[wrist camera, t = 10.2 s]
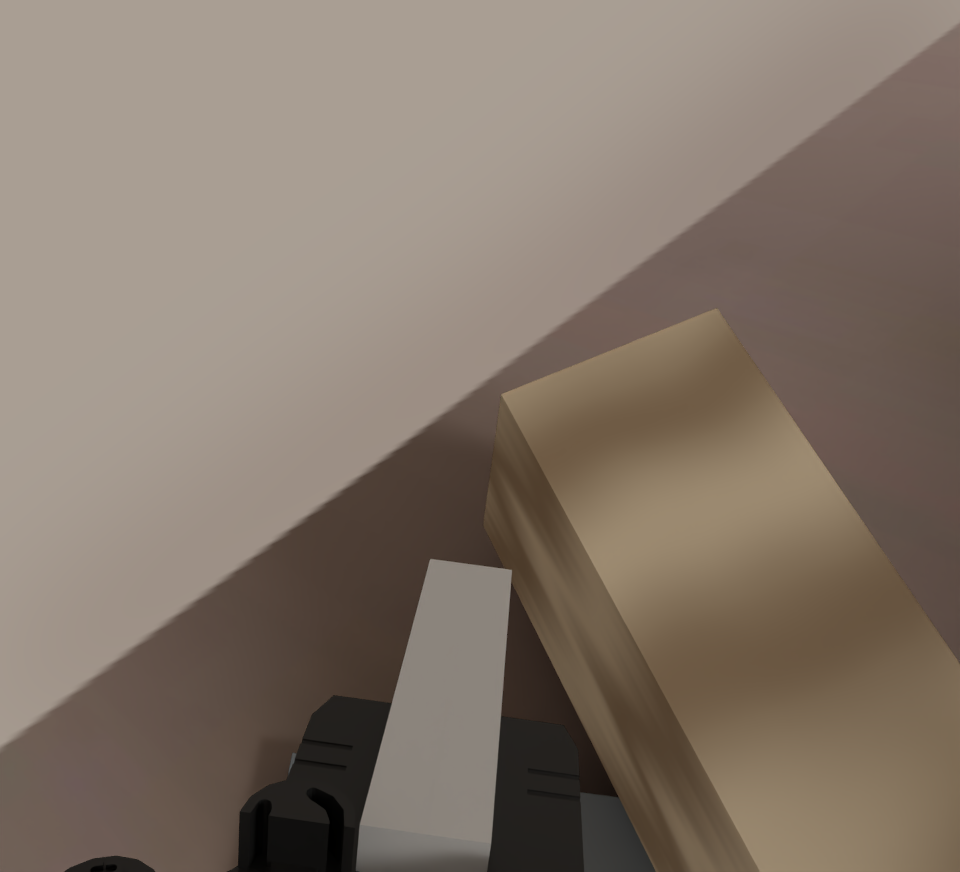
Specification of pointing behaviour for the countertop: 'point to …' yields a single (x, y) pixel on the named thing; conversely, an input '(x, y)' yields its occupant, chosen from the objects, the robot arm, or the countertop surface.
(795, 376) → the countertop surface
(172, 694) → the countertop surface
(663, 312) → the countertop surface
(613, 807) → the label board
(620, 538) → the tan wooden block
